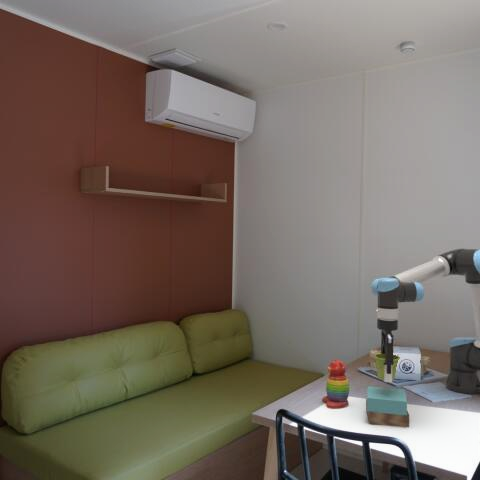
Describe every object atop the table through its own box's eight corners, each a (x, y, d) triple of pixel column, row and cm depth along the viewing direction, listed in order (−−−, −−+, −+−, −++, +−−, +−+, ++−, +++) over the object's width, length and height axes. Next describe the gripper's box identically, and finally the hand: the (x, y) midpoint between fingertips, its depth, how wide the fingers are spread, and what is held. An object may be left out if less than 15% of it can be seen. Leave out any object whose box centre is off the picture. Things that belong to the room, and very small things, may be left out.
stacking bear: (321, 399, 208) (321, 357, 208) (344, 399, 209) (345, 357, 208) (327, 408, 197) (328, 364, 197) (352, 408, 198) (353, 364, 198)
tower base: (402, 414, 194) (402, 401, 194) (409, 428, 180) (409, 414, 180) (366, 411, 196) (366, 399, 196) (369, 425, 182) (369, 412, 182)
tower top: (404, 402, 192) (404, 389, 192) (406, 415, 179) (406, 401, 179) (367, 398, 196) (367, 386, 196) (366, 411, 183) (367, 397, 183)
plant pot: (399, 376, 191) (399, 354, 191) (399, 383, 182) (399, 360, 182) (374, 374, 194) (374, 352, 194) (372, 381, 185) (373, 358, 185)
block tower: (368, 368, 259) (426, 376, 243) (367, 352, 259) (426, 359, 243) (372, 365, 266) (429, 372, 250) (372, 349, 266) (429, 355, 250)
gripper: (374, 313, 199) (373, 369, 199) (381, 323, 178) (380, 386, 178) (393, 314, 198) (392, 370, 198) (402, 324, 177) (401, 387, 177)
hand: (386, 378), depth 188 cm, fingers closed on plant pot, 8 cm apart
